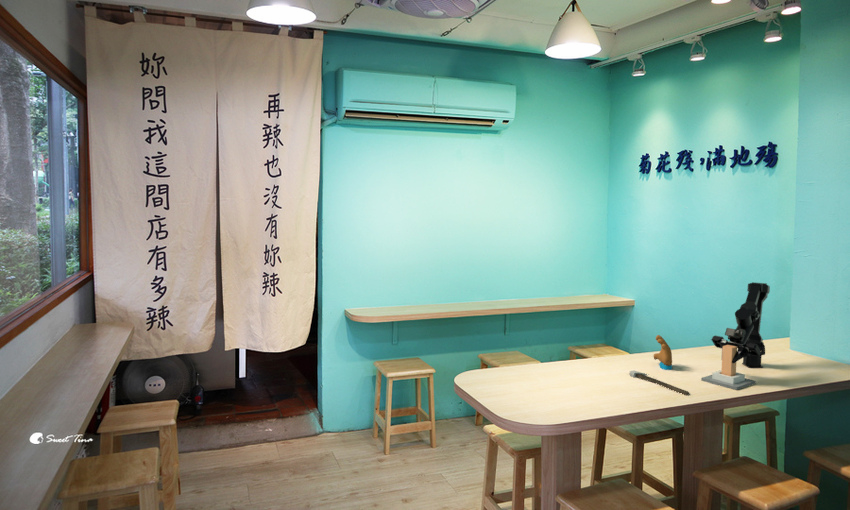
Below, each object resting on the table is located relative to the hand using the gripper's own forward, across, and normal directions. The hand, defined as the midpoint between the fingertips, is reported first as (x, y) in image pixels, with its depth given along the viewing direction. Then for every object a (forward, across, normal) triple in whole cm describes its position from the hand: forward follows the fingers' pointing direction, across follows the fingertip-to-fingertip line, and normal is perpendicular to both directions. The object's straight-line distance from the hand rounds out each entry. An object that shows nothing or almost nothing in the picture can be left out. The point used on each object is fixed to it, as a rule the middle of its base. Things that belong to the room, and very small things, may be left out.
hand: (727, 361), depth 241 cm
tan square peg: (+4, 0, +6) cm, 7 cm away
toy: (+8, -29, +6) cm, 30 cm away
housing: (+6, 0, +7) cm, 9 cm away
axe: (+24, -14, -10) cm, 29 cm away
